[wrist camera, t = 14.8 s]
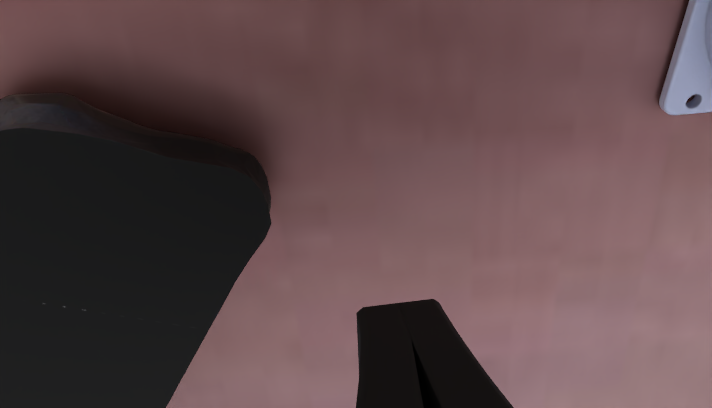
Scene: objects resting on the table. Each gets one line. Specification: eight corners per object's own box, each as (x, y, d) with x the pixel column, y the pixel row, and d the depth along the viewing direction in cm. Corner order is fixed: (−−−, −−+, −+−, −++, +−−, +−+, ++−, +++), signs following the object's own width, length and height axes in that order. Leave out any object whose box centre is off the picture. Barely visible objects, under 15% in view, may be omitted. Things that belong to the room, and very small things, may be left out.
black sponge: (13, 34, 17) (-41, 96, 14) (291, 143, 20) (294, 211, 17) (-65, 380, 25) (-109, 464, 22) (142, 420, 28) (127, 498, 25)
